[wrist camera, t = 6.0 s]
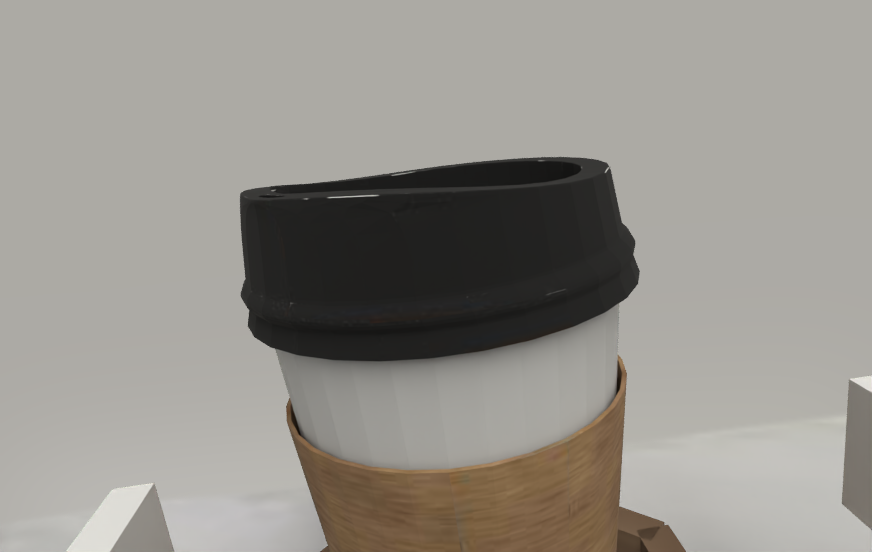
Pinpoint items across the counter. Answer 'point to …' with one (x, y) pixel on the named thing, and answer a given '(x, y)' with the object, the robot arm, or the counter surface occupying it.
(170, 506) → the counter surface
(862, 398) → the robot arm
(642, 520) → the cup cradle
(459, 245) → the coffee cup
